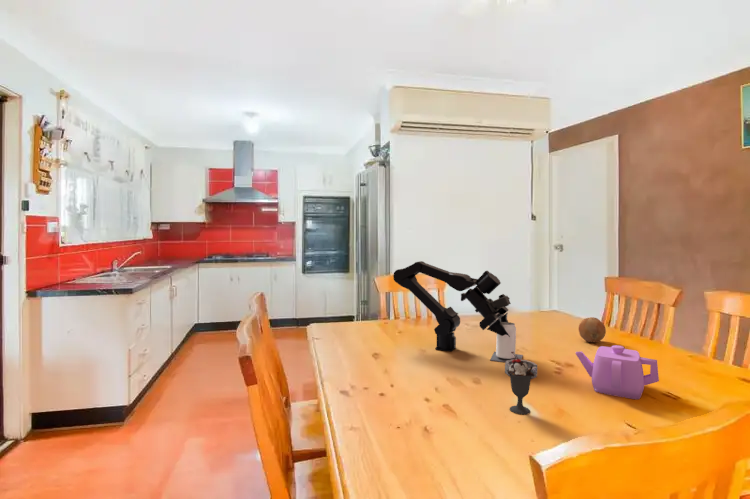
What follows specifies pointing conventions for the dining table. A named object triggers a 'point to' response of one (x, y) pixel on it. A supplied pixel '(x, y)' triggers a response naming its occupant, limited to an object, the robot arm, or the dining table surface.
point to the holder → (529, 363)
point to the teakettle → (619, 371)
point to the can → (506, 342)
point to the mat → (495, 358)
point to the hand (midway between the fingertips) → (511, 335)
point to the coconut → (592, 329)
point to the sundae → (520, 383)
